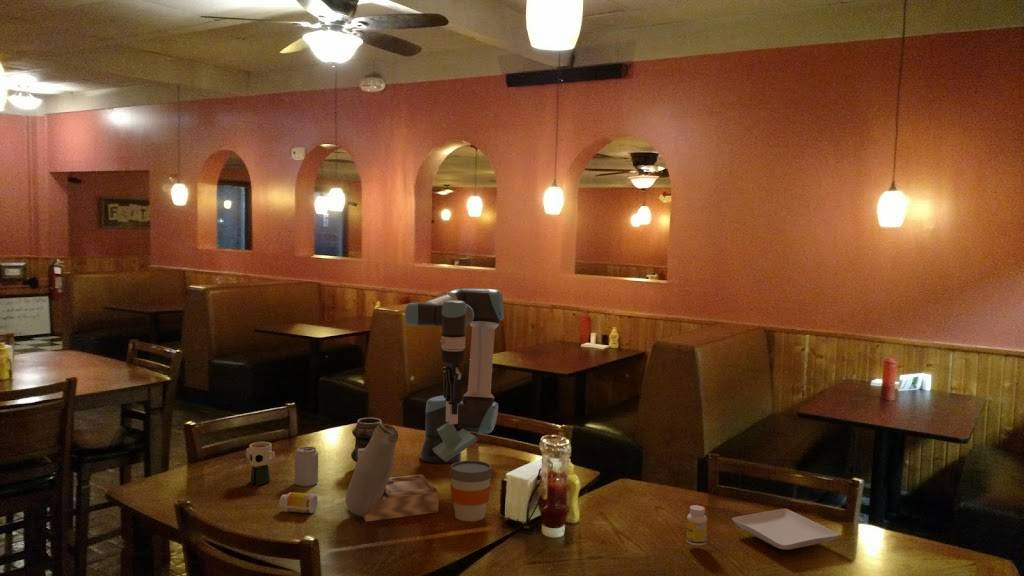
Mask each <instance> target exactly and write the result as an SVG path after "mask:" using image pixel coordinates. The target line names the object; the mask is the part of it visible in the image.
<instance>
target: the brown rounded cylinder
mask: <svg viewBox="0 0 1024 576" xmlns="http://www.w3.org/2000/svg"><path fill="white" fill-rule="evenodd" d="M398 441H399V432H398V431H397V429H396V428H395V427H394V426H392V425H390V424H389V423H382V424H380V425H378V426H377V427H376V428H375V430H374V431H373V434H372V437H371V439H370V442H369V444H368V445H367V446H366V448H365V449H364V451H363V452H362V454H361V455H360V457H359V459H358V461H357V462H356V464H355V466H354V470H353V472H352V475H351V479H350V481H349V484H348V487H347V489H346V493H345V505H346V508H347V509H348V511H349V512H350V513H352V514H354V515H355V516H358V517H362V516H365V515H366V514H368V513H370V512H371V511H372V510H373V508H374V506H375V505H376V503H377V501H378V500H379V499H380V498H382V495H383V493H384V490H385V488H386V485H387V483H388V480H389V478H391V474H392V472H393V468H394V464H395V463H394V462H395V450H396V445H397V443H398Z"/></svg>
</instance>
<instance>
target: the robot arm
mask: <svg viewBox="0 0 1024 576" xmlns="http://www.w3.org/2000/svg"><path fill="white" fill-rule="evenodd" d="M504 318H505V304H504V297H503V294H502V292H501V290H499V289H492V288H470V287H469V288H467V287H464V288H463V287H460V288H455V289H451V290H447V291H444V292H441V293H440V294H438V295H437V296H436V297H435V298H433V299H431V300H430V299H429V300H428V301H425V302H424V301H423V302H417V301H416V302H409V303H408V304H406V307H405V312H404V319H405V322H406V324H407V325H409V326H414V327H415V326H416V327H417V326H419V327H441V339H439V342H440V343H441V348H442V349H441V350H440V351H441V352H440V360H441V362H442V363H445V366H442V368H441V369H442V377H443V378H442V381H443V382H442V383H443V386H442V387H443V395H437V396H433V397H431V398H428V400H427V401H426V405H425V411H424V412H425V413H424V414H425V436H424V437H425V438H424V440H423V442H422V443H423V444H422V446H421V449H420V455H419V456H420V458H421V459H420V460H421V461H423V462H425V463H430V464H437V465H438V464H439V465H440V464H443V465H444V464H450V463H451V464H453V463H456V462H459V461H461V459H462V457H461V455H462V452H460V453H459V454H457V455H456V456H454V457H453V458H451V459H450V460H449V461H447V462H445V461H444V460H443V459H442V458H440V457H439V456H438V455H437V454H435V453H434V451H433V448H434V447H436V446H437V445H439V444H440V443H442V442H443V440H442V438H441V436H440V435H439V433H438V431H437V429H438V428H440V427H441V426H443V425H444V424H446V423H447V422H449V424H453V425H454V427H455V429H456V430H457V432H458V431H460V430H461V429H465V430H466V431H468V432H469V433H471V434H479V435H481V434H490V433H492V432H493V430H494V428H495V426H496V423H497V419H498V415H499V413H498V412H499V403H498V402H496V401H495V396H494V395H493V394H492V392H491V391H492V377H493V363H494V362H493V360H494V346H495V332H496V331H495V330H496V329H497V328H498V327H499V326H500V321H503V320H504ZM468 326H470V327H471V341H470V355H469V366H468V367H469V368H468V369H469V370H468V371H469V372H468V382H467V383H468V385H467V391H466V393H465V394H463V396H462V391H463V379H464V373H463V372H461V370H462V369H461V367H460V364H462V363H464V362H465V361H466V358H465V357H466V351H465V350H464V349H466V327H468Z"/></svg>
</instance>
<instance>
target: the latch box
mask: <svg viewBox="0 0 1024 576" xmlns="http://www.w3.org/2000/svg"><path fill="white" fill-rule="evenodd" d="M389 479H392V480H393V484H389V485H386V488H385V490H384V493H383V495H382V498H380V499H379V500H378V501H377V503H376V505H375V506H374V508H373V510H372V511H371V512H370V513H368V514H366V515H365V516H361V517H362V518H363V520H364V521H365V522H373V521H374V522H375V521H381V520H389V519H396V518H403V517H405V518H406V517H411V516H418V515H425V514H433V513H435V514H436V513H439V494H440V493H439V491H437V488H436V487H435V486H434V485H433V484H432V483H431V482H430V481H429V480H428V479H427V478H426V477H425V476H424V475H423V473H422V474H412V475H402V476H395V477H389Z"/></svg>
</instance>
